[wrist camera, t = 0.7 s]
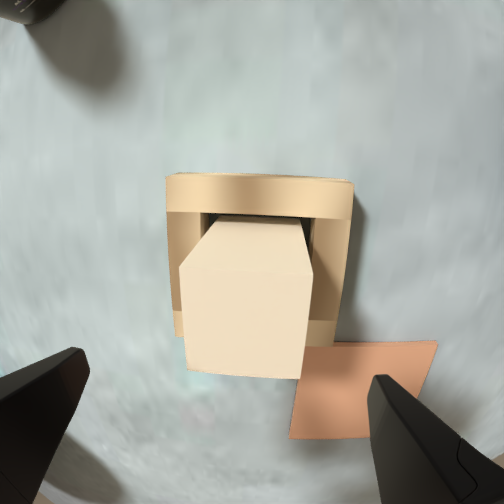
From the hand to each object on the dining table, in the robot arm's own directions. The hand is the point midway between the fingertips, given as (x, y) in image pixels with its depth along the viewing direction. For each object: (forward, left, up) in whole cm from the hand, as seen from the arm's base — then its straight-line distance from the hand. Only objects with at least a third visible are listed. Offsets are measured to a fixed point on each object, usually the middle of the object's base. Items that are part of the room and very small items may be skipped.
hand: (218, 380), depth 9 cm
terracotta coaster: (-9, +13, -13) cm, 20 cm away
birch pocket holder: (0, +1, -13) cm, 13 cm away
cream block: (0, +1, -13) cm, 13 cm away
